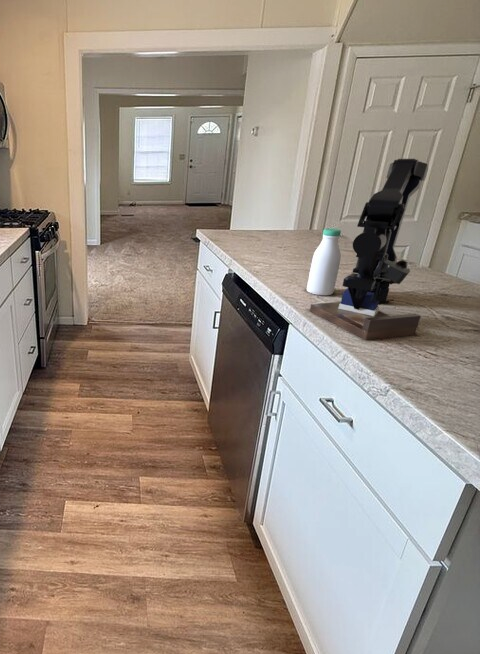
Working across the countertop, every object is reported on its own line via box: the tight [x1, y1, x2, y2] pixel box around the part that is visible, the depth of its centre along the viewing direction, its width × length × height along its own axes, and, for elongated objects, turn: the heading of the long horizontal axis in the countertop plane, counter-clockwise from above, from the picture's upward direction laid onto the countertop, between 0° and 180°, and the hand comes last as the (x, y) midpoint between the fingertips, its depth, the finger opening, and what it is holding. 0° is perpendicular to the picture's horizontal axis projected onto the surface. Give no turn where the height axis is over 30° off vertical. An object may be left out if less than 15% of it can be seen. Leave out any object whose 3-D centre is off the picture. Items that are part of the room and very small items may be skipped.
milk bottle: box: [306, 228, 342, 296], centre depth 125 cm, size 8×8×20 cm
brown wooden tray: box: [309, 301, 422, 341], centre depth 105 cm, size 20×14×5 cm
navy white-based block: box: [339, 287, 380, 316], centre depth 107 cm, size 8×4×5 cm, turn 45°
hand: (358, 306), depth 108 cm, fingers closed on navy white-based block, 4 cm apart
